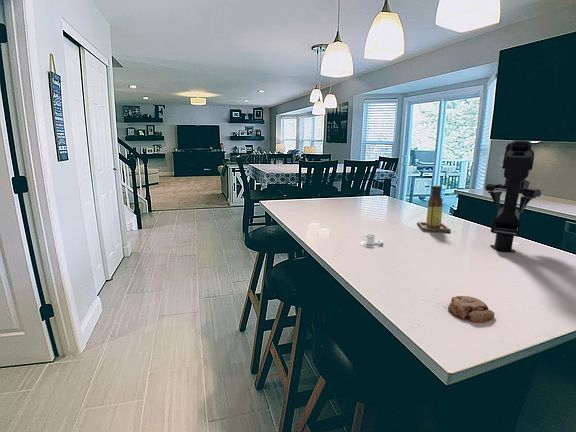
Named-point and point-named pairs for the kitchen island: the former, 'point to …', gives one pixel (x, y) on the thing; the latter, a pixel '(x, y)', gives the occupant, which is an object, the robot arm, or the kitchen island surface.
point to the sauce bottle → (434, 208)
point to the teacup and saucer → (372, 241)
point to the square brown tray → (424, 228)
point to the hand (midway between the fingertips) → (508, 210)
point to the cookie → (470, 309)
